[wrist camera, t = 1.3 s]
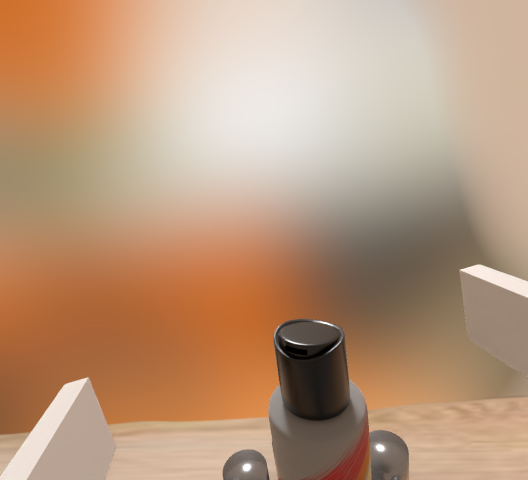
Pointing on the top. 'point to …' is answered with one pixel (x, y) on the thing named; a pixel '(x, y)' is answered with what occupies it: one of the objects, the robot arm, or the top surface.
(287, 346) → the lotion bottle
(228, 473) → the steel spacers
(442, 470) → the top surface
